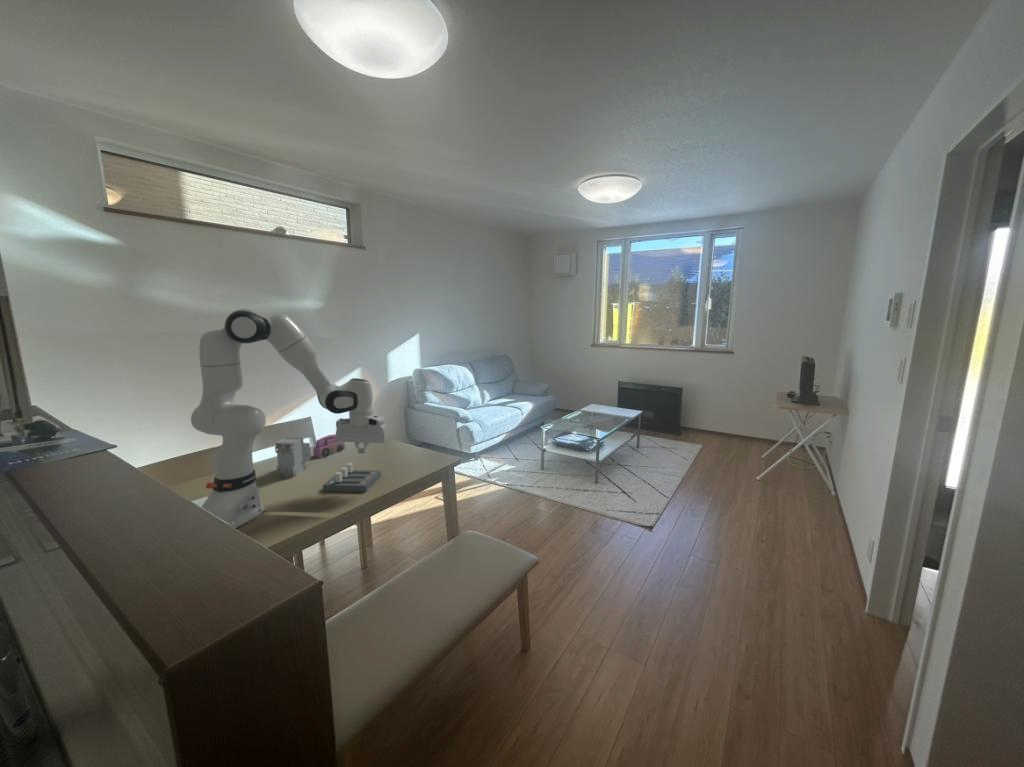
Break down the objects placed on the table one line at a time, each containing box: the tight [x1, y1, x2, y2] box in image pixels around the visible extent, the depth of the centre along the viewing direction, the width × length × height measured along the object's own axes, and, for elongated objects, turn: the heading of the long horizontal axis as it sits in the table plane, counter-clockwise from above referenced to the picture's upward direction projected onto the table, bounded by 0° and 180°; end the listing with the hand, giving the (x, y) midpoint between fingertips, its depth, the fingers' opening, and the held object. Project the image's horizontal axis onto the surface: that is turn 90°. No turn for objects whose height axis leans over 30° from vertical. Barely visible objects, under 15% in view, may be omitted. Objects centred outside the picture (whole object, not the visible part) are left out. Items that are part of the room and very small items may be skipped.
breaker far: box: [345, 462, 354, 473], centre depth 172 cm, size 2×2×4 cm
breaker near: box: [334, 471, 342, 482], centre depth 162 cm, size 2×2×4 cm
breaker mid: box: [340, 466, 348, 477], centre depth 167 cm, size 2×2×4 cm
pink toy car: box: [312, 433, 346, 459], centre depth 203 cm, size 18×6×10 cm, turn 150°
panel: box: [322, 469, 382, 493], centre depth 168 cm, size 16×17×3 cm
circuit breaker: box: [274, 436, 312, 478], centre depth 180 cm, size 8×14×15 cm, turn 174°
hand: (362, 452), depth 165 cm, fingers closed
